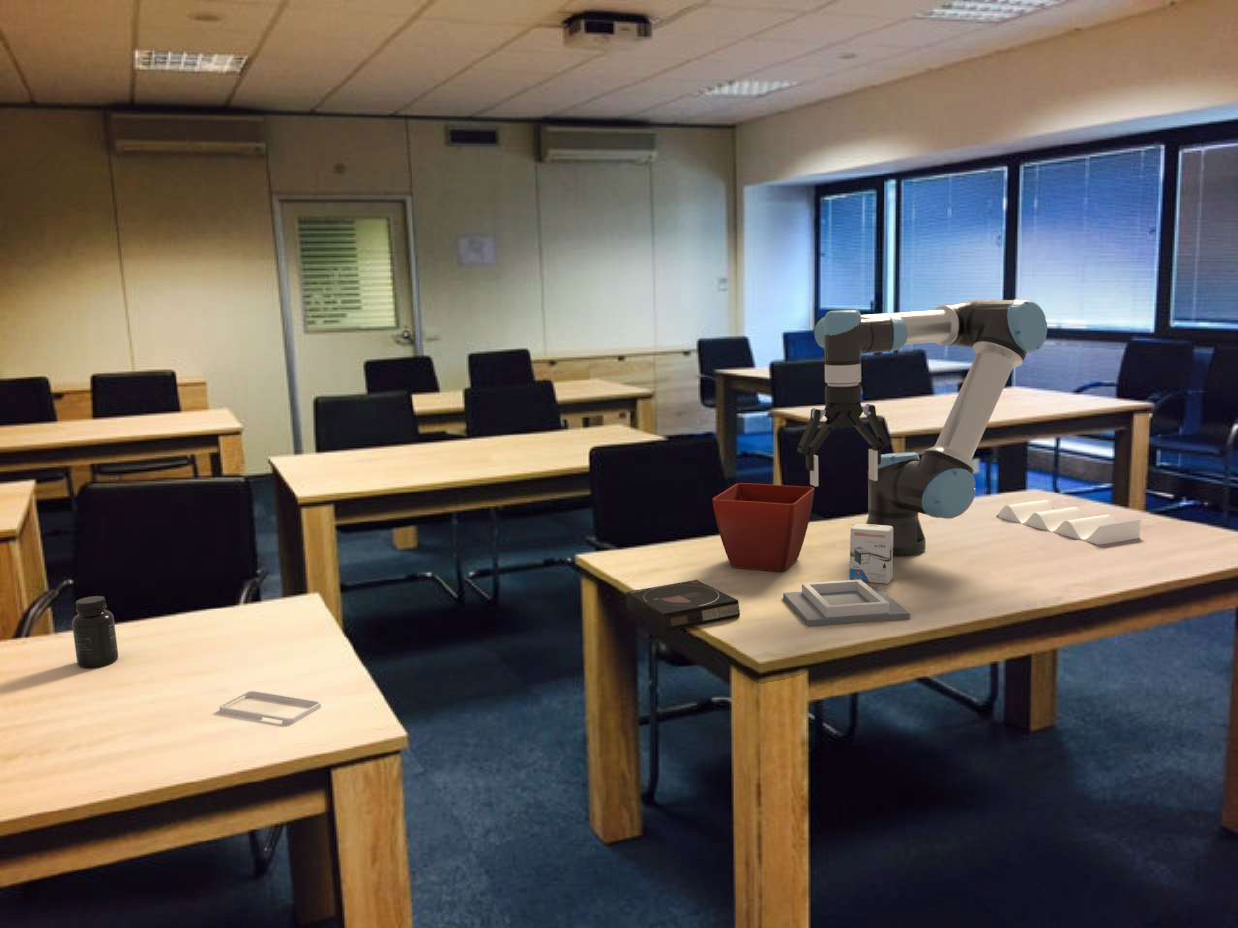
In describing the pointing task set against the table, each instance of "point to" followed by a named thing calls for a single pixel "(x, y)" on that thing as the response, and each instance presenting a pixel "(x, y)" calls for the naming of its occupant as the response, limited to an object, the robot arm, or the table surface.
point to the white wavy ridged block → (1071, 522)
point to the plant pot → (763, 524)
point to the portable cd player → (682, 605)
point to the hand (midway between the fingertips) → (843, 482)
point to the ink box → (871, 553)
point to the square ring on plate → (843, 603)
